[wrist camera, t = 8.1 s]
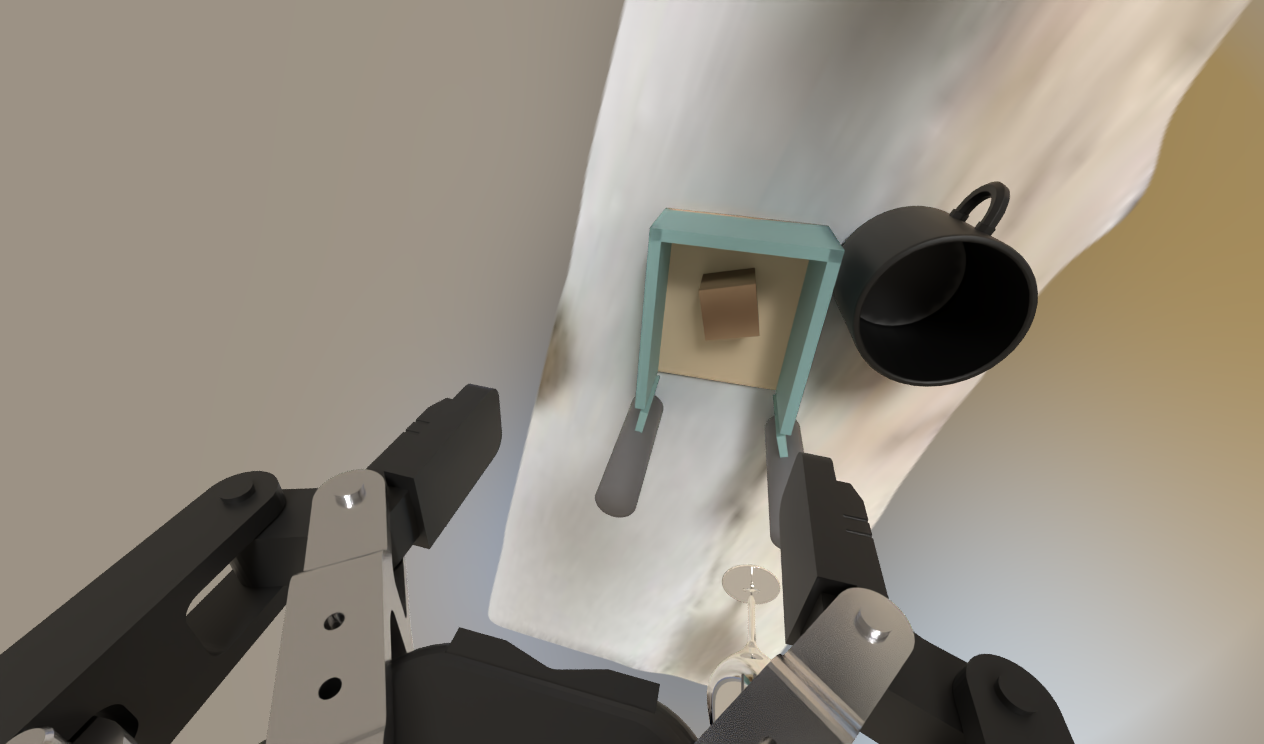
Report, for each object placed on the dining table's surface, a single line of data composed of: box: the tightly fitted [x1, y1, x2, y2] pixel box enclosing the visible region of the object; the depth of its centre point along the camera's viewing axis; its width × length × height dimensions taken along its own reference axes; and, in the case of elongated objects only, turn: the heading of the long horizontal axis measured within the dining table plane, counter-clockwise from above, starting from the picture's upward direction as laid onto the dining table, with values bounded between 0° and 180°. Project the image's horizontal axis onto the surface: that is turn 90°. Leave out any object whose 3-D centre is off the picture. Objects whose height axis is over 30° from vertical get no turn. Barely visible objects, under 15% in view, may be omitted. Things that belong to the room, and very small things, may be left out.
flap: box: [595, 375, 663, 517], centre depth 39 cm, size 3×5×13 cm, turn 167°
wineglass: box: [707, 565, 780, 726], centre depth 47 cm, size 8×8×18 cm
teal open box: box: [635, 208, 845, 435], centre depth 36 cm, size 14×12×7 cm
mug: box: [833, 182, 1038, 386], centre depth 31 cm, size 9×12×9 cm
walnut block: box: [699, 268, 760, 341], centre depth 36 cm, size 4×4×4 cm
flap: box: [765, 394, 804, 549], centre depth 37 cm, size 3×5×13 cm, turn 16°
